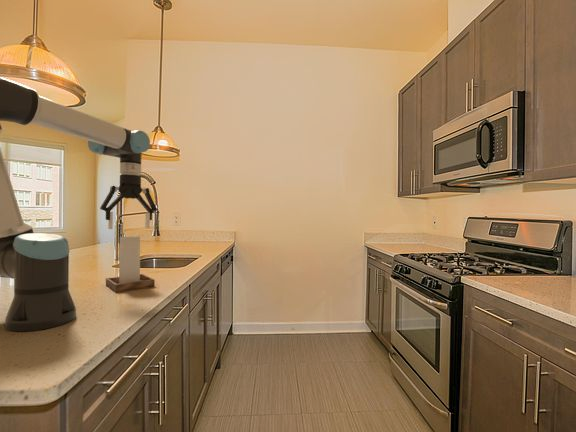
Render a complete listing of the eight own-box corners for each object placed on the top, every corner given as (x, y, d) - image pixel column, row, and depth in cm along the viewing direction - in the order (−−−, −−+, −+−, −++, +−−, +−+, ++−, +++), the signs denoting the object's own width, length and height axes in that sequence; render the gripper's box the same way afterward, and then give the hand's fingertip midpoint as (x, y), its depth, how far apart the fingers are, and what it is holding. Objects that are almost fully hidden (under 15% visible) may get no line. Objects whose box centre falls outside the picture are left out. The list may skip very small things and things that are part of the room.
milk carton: (139, 285, 124) (139, 237, 124) (119, 287, 121) (119, 237, 121) (139, 281, 131) (140, 235, 130) (120, 283, 128) (120, 236, 127)
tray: (115, 292, 116) (115, 284, 116) (105, 285, 127) (105, 278, 127) (154, 286, 126) (154, 279, 126) (142, 280, 136) (142, 273, 136)
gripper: (96, 170, 114) (95, 229, 114) (165, 177, 131) (164, 228, 131) (92, 172, 120) (90, 228, 120) (158, 178, 137) (157, 227, 137)
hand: (129, 228), depth 125 cm, fingers open, 13 cm apart
